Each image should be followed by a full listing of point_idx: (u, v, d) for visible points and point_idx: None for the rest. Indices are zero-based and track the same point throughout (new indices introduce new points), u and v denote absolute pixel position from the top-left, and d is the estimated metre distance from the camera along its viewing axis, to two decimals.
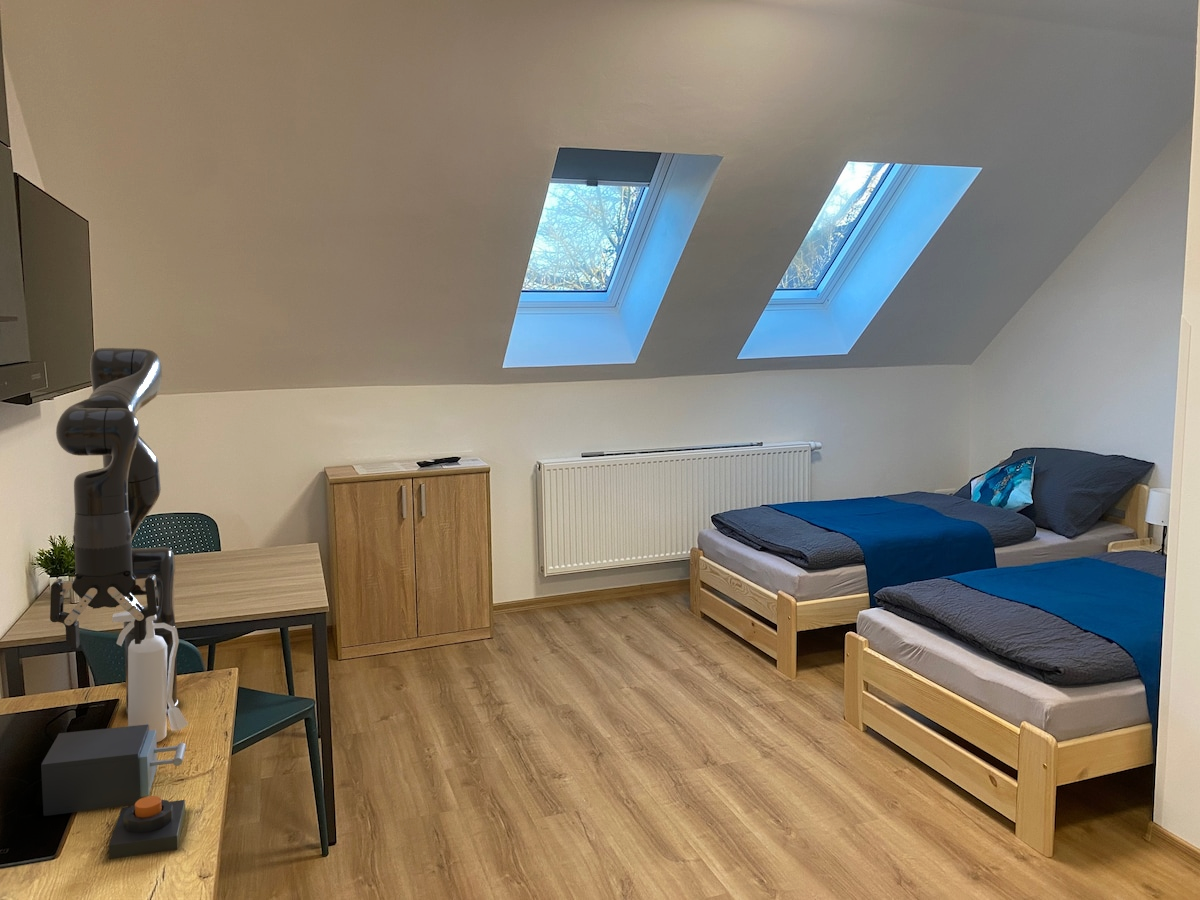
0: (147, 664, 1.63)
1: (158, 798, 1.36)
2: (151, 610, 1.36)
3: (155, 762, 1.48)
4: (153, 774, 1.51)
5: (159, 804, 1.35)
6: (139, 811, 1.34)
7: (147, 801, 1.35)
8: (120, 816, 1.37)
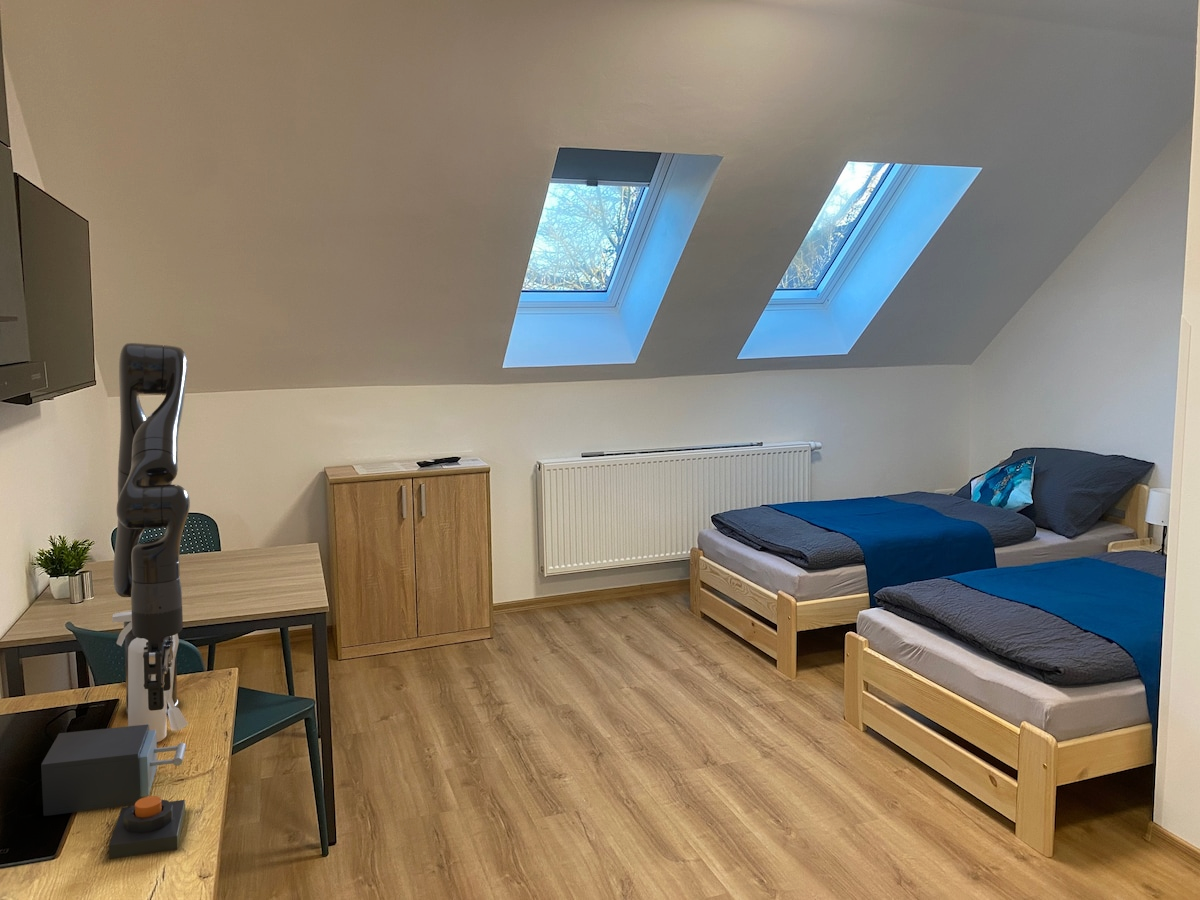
0: None
1: (158, 798, 1.36)
2: None
3: (155, 762, 1.48)
4: (153, 774, 1.51)
5: (159, 804, 1.35)
6: (139, 811, 1.34)
7: (147, 801, 1.35)
8: (120, 816, 1.37)
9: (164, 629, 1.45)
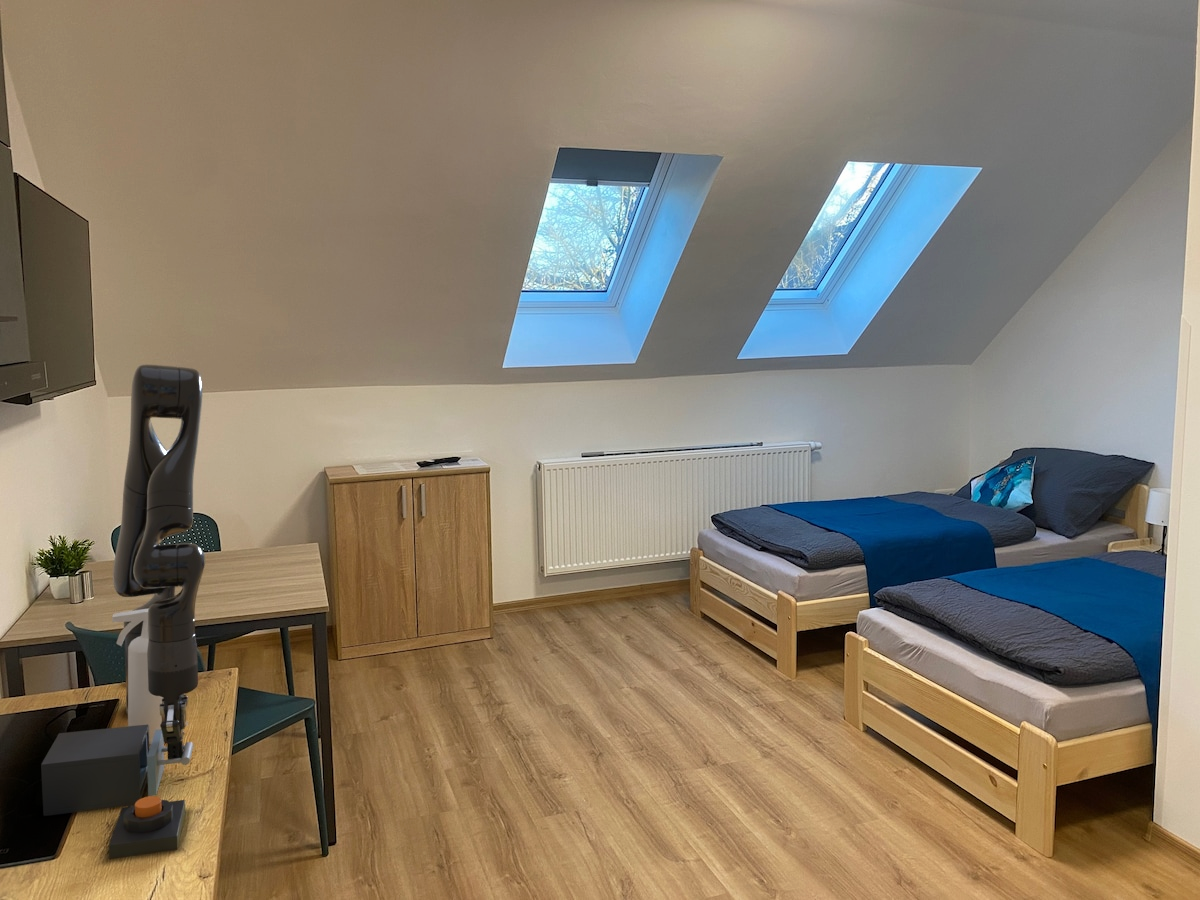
0: (147, 664, 1.63)
1: (158, 798, 1.36)
2: None
3: (163, 761, 1.48)
4: (161, 773, 1.51)
5: (159, 804, 1.35)
6: (139, 811, 1.34)
7: (147, 801, 1.35)
8: (120, 816, 1.37)
9: (180, 687, 1.47)
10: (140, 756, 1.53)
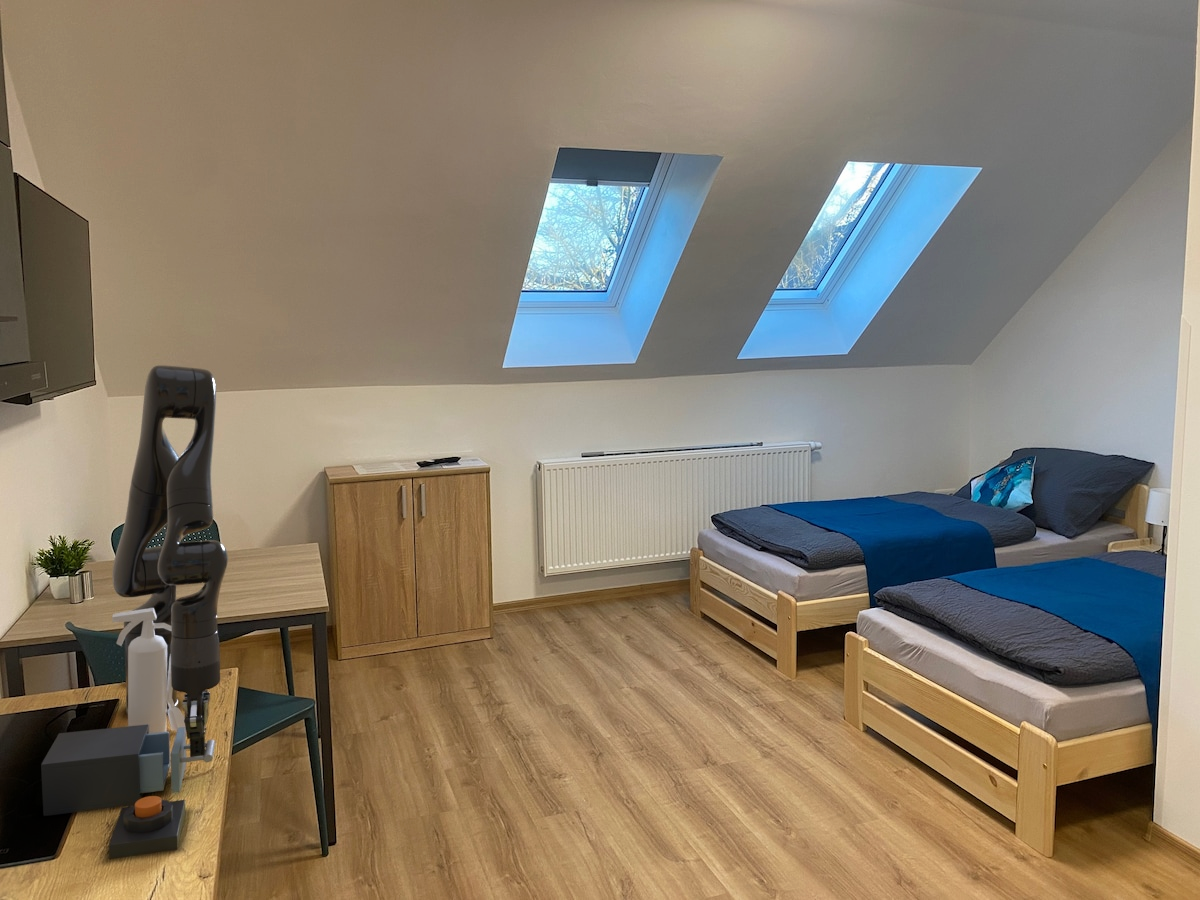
0: (147, 664, 1.63)
1: (158, 798, 1.36)
2: None
3: (186, 759, 1.49)
4: (183, 770, 1.52)
5: (159, 804, 1.35)
6: (139, 811, 1.34)
7: (147, 801, 1.35)
8: (120, 816, 1.37)
9: (203, 683, 1.48)
10: (162, 753, 1.54)
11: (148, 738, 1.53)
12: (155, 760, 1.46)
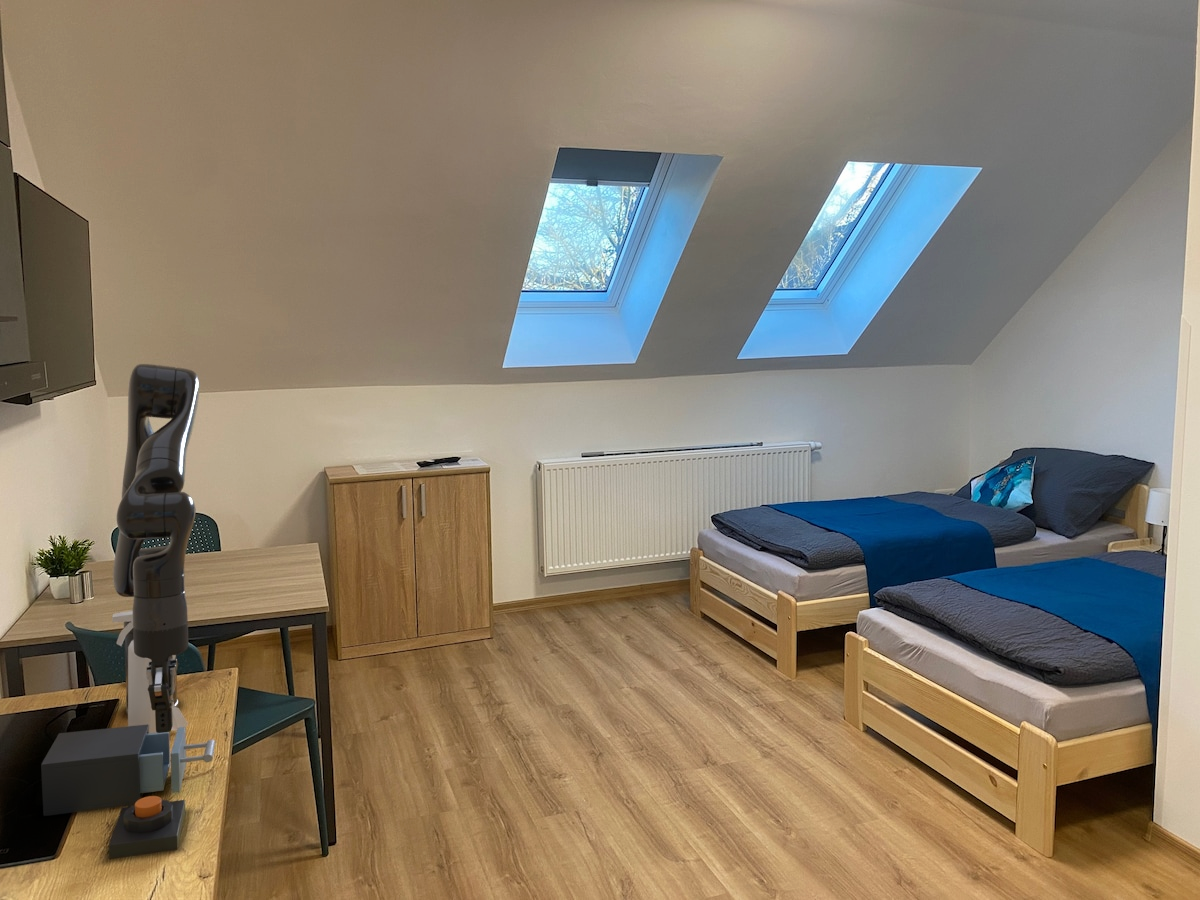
0: (147, 664, 1.63)
1: (158, 798, 1.36)
2: None
3: (186, 759, 1.49)
4: (183, 770, 1.52)
5: (159, 804, 1.35)
6: (139, 811, 1.34)
7: (147, 801, 1.35)
8: (120, 816, 1.37)
9: (169, 647, 1.34)
10: (162, 753, 1.54)
11: (148, 738, 1.53)
12: (155, 760, 1.46)
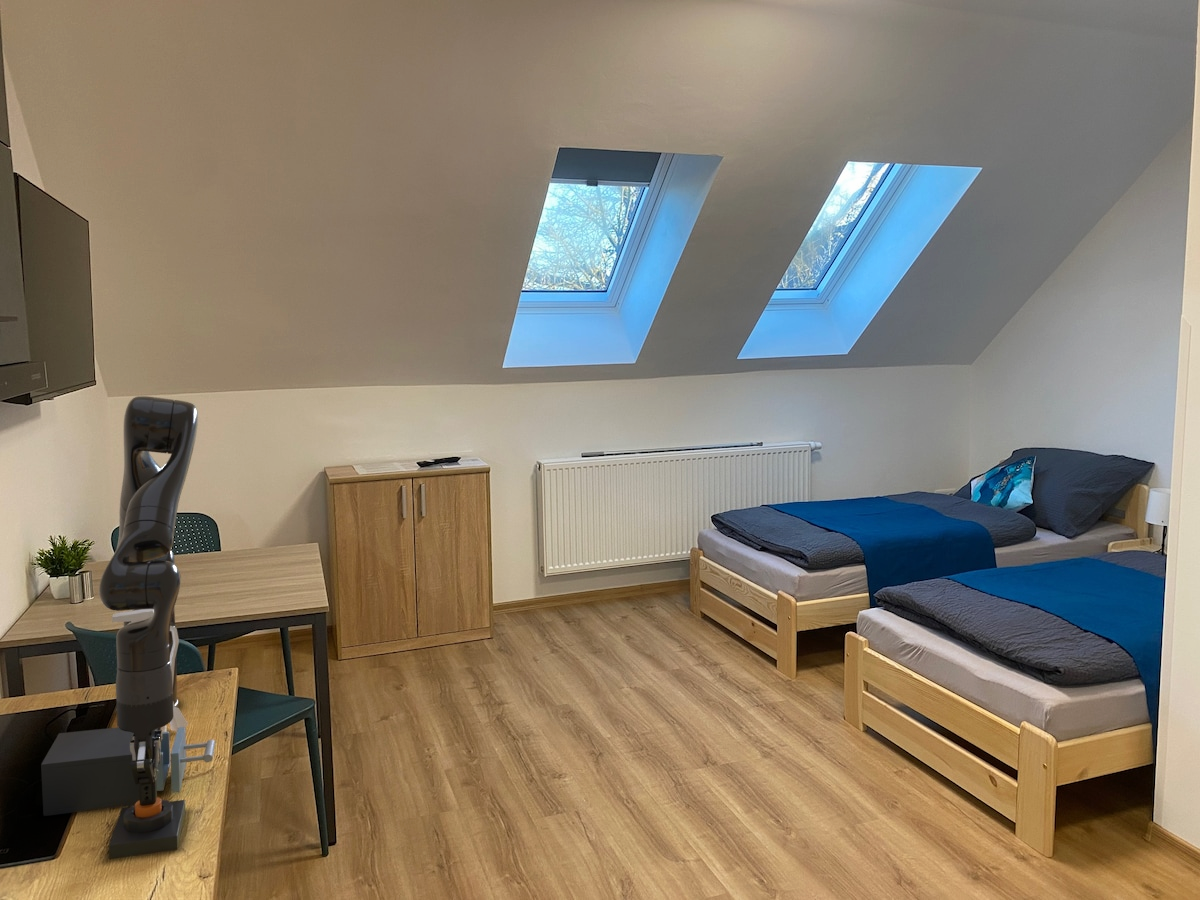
0: None
1: (158, 799, 1.36)
2: None
3: (186, 759, 1.49)
4: (183, 770, 1.52)
5: (159, 805, 1.35)
6: (139, 812, 1.34)
7: None
8: (120, 816, 1.37)
9: (152, 721, 1.31)
10: (162, 753, 1.54)
11: None
12: None
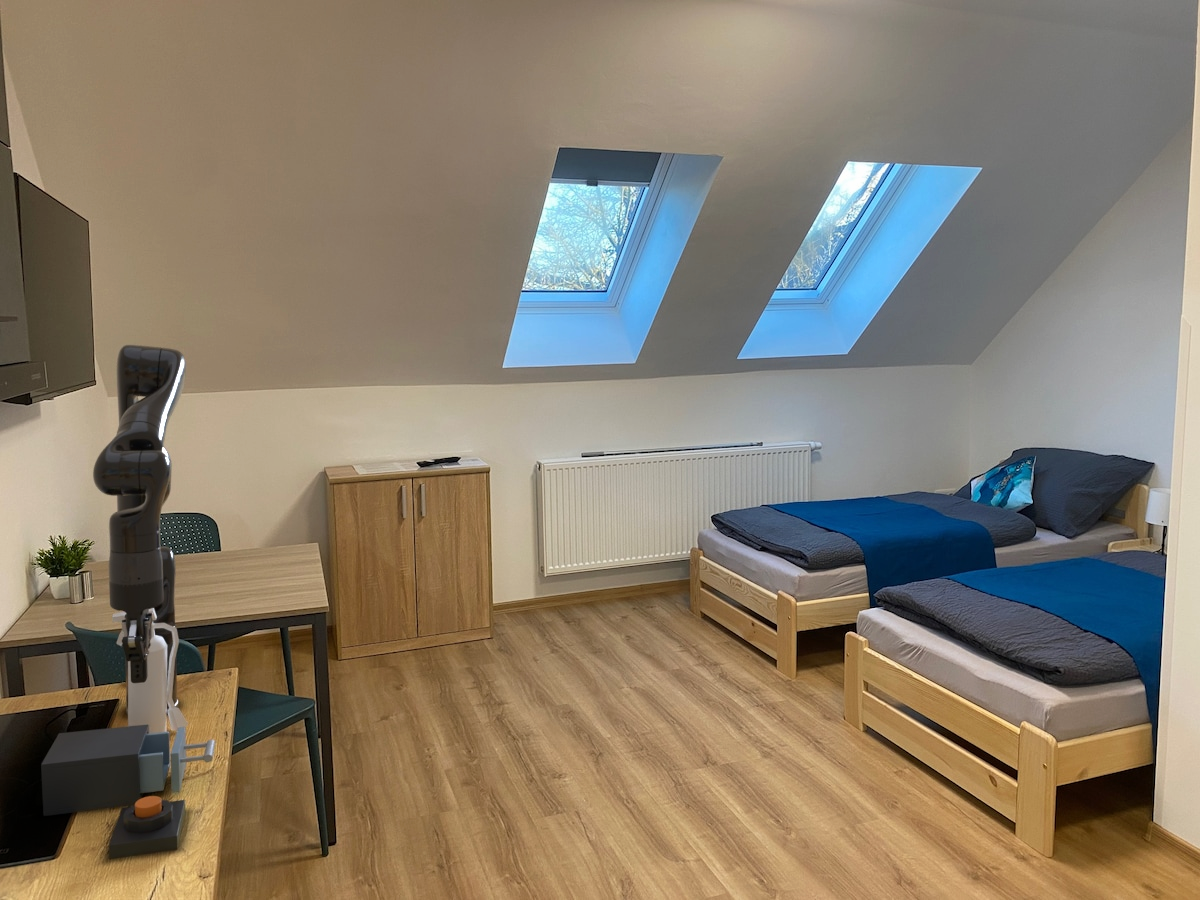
0: (147, 664, 1.63)
1: (158, 798, 1.36)
2: None
3: (186, 759, 1.49)
4: (183, 770, 1.52)
5: (159, 804, 1.35)
6: (139, 811, 1.34)
7: (147, 801, 1.35)
8: (120, 816, 1.37)
9: (143, 601, 1.38)
10: (162, 753, 1.54)
11: (148, 738, 1.53)
12: (155, 760, 1.46)
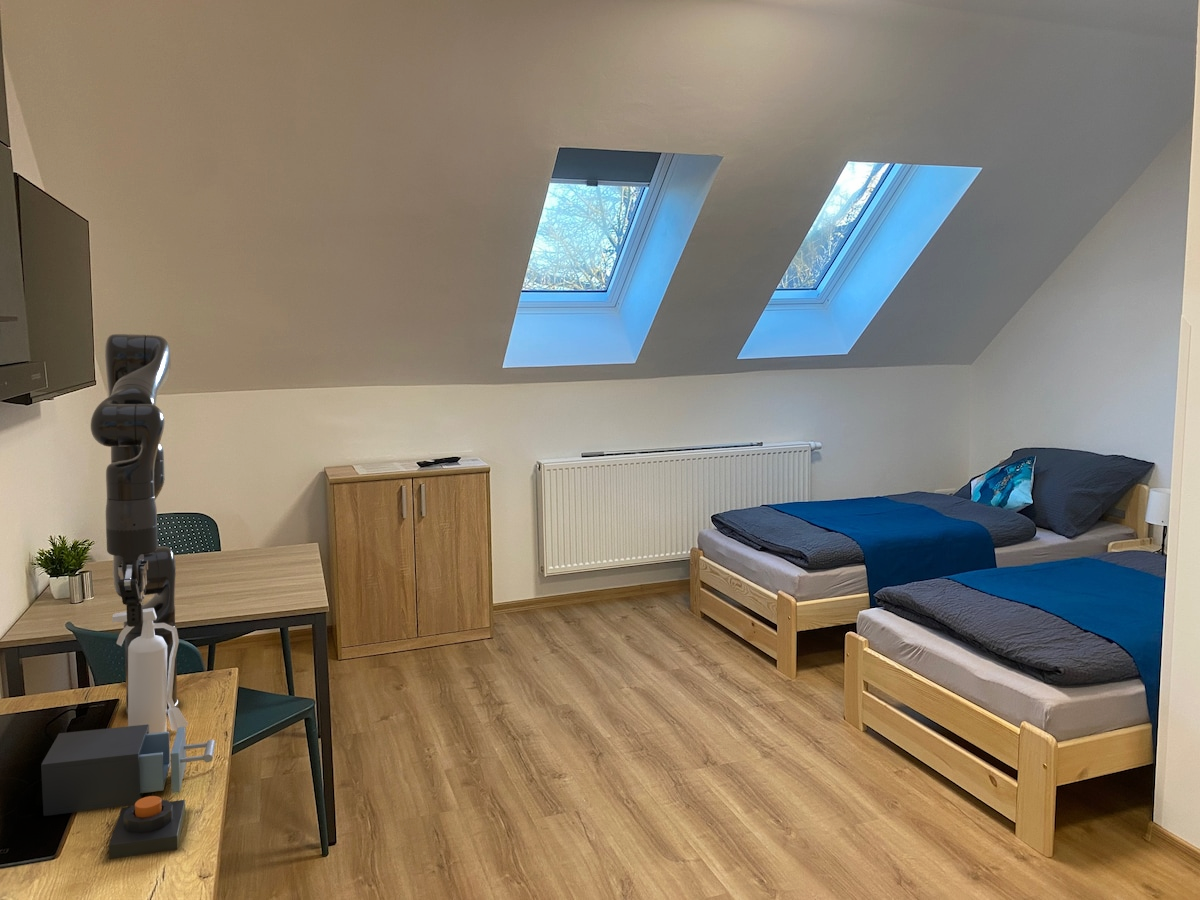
0: (147, 664, 1.63)
1: (158, 798, 1.36)
2: None
3: (186, 759, 1.49)
4: (183, 770, 1.52)
5: (159, 804, 1.35)
6: (139, 811, 1.34)
7: (147, 801, 1.35)
8: (120, 816, 1.37)
9: (138, 546, 1.46)
10: (162, 753, 1.54)
11: (148, 738, 1.53)
12: (155, 760, 1.46)
